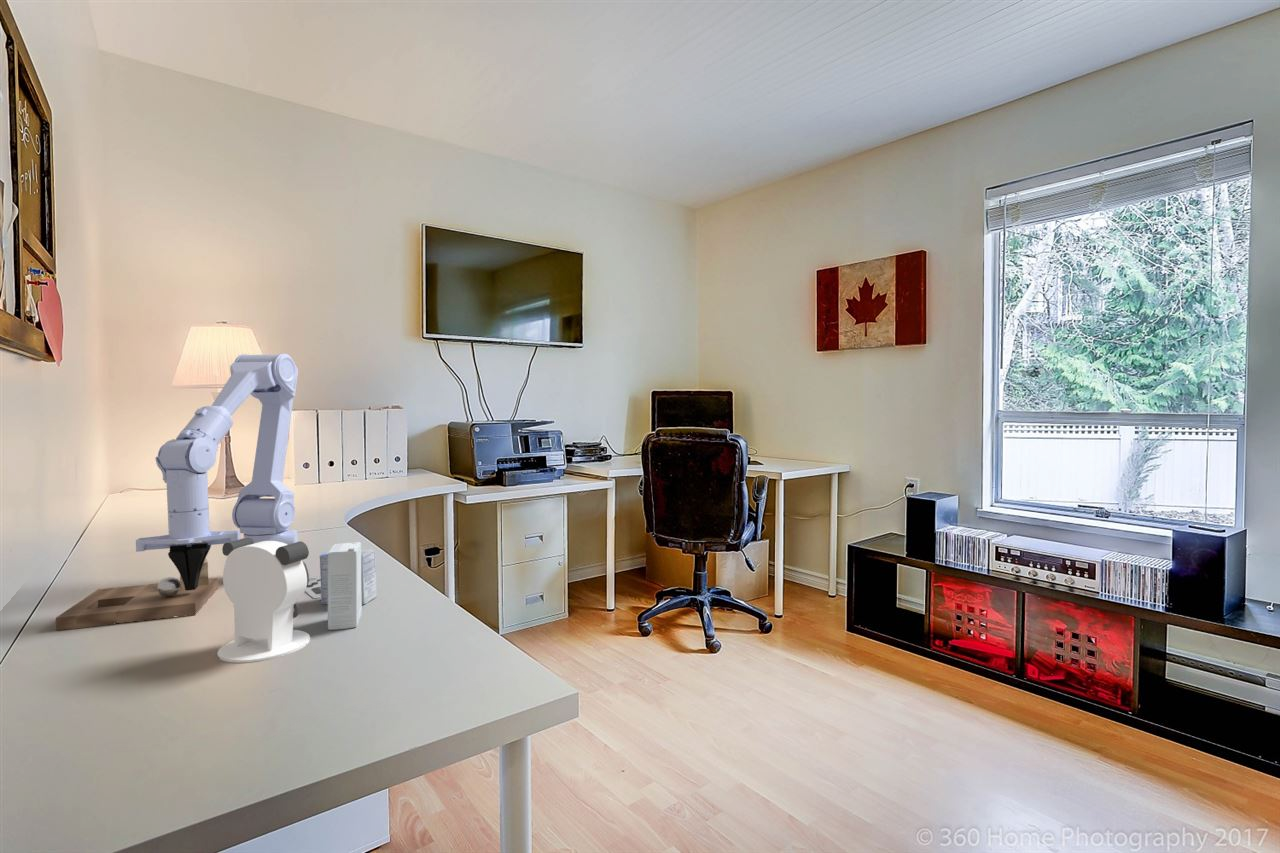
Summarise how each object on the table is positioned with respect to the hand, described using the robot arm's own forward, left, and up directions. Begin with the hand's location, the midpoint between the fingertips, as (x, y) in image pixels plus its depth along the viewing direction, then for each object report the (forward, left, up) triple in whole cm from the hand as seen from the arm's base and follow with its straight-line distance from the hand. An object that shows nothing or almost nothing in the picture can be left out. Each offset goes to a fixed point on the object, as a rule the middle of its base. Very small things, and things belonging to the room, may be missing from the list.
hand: (191, 588), depth 110 cm
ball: (+3, 0, +1) cm, 3 cm away
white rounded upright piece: (-15, +26, -3) cm, 30 cm away
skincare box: (-25, +20, -3) cm, 32 cm away
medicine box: (-25, +8, -3) cm, 26 cm away
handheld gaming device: (-21, -4, -3) cm, 21 cm away
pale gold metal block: (+1, -7, -1) cm, 7 cm away
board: (+7, -2, -3) cm, 8 cm away
